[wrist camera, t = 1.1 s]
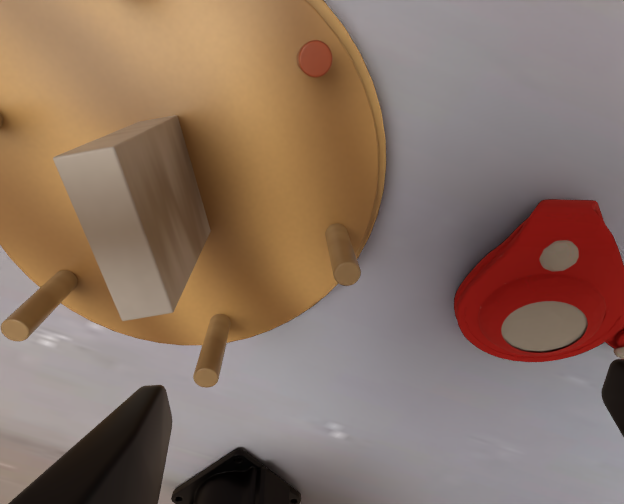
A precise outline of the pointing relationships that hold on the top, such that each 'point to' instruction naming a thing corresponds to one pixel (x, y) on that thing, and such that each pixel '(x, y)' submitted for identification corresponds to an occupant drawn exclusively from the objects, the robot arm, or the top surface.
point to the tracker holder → (547, 288)
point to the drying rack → (180, 165)
